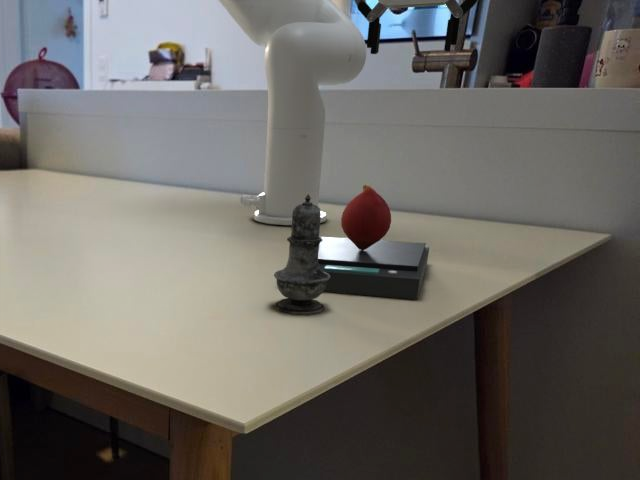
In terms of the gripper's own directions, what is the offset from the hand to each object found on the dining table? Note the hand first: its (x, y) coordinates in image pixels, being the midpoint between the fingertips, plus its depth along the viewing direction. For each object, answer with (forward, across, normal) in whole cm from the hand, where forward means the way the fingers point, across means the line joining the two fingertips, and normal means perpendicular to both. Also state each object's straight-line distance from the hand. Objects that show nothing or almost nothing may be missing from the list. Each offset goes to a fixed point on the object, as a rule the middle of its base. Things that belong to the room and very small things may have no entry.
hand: (410, 52), depth 102 cm
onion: (+24, +1, +23) cm, 33 cm away
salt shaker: (+26, +5, +41) cm, 49 cm away
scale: (+26, +1, +25) cm, 36 cm away
